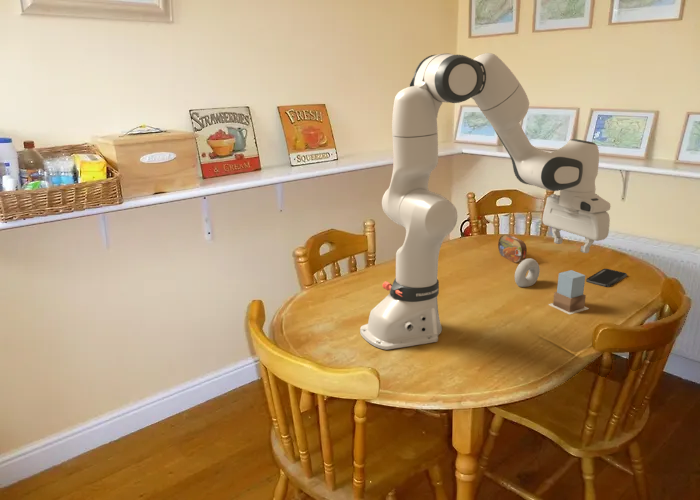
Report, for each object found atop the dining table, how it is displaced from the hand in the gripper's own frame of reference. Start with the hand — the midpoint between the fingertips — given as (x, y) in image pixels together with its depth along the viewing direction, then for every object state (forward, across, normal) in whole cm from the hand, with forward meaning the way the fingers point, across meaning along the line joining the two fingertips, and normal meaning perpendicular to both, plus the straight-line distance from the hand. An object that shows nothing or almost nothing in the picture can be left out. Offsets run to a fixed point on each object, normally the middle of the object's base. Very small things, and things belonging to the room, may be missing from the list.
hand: (571, 247), depth 156 cm
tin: (+19, -42, +19) cm, 50 cm away
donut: (+19, -18, +3) cm, 27 cm away
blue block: (+14, +1, +1) cm, 14 cm away
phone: (+20, -11, +32) cm, 39 cm away
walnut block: (+18, +1, +1) cm, 18 cm away
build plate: (+19, +1, +1) cm, 19 cm away
